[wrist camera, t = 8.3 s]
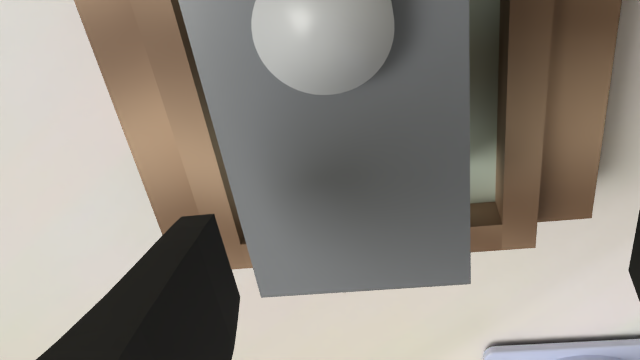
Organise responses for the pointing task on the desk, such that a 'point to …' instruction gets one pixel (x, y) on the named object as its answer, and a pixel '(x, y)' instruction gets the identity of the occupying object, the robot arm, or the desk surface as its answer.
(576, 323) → the desk surface
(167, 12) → the stand
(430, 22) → the housing
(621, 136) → the desk surface
